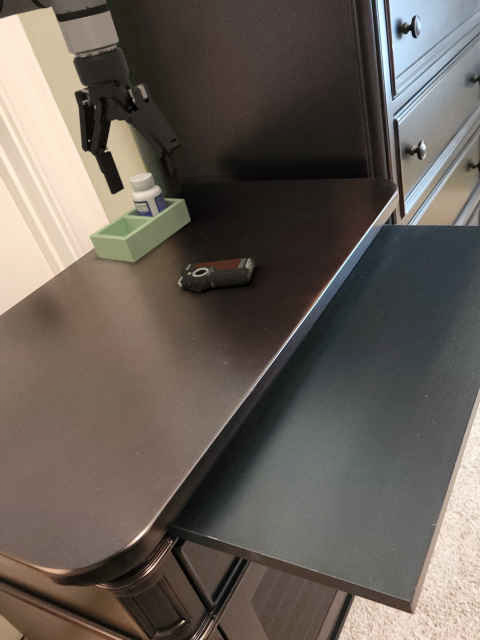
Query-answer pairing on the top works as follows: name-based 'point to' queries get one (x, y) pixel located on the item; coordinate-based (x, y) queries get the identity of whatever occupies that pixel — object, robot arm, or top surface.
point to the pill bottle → (147, 195)
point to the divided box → (139, 232)
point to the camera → (216, 274)
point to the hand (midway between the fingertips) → (145, 193)
